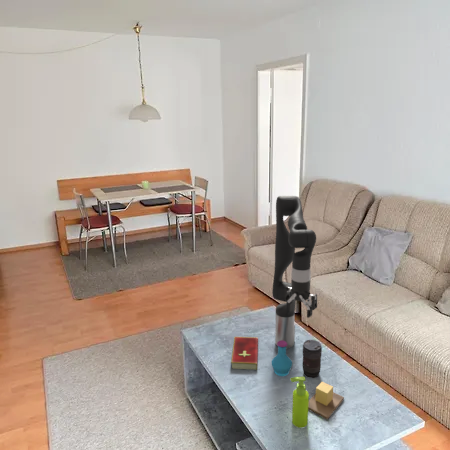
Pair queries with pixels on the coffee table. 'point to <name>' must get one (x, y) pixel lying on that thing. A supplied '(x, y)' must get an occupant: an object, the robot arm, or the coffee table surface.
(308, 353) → the camera lens
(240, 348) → the hardcover book
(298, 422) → the soap dispenser
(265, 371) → the coffee table surface
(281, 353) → the perfume bottle
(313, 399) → the post board
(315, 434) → the coffee table surface
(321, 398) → the tan wooden block
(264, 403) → the coffee table surface
